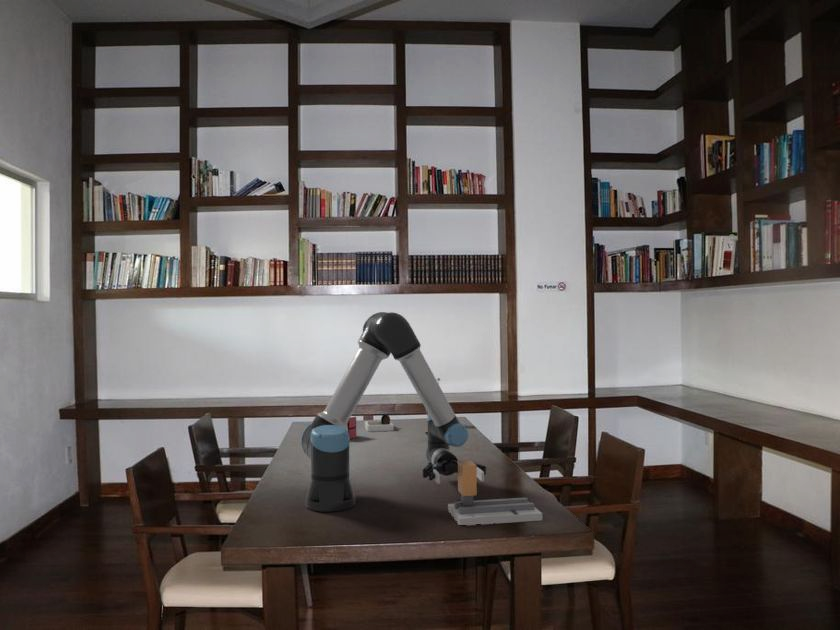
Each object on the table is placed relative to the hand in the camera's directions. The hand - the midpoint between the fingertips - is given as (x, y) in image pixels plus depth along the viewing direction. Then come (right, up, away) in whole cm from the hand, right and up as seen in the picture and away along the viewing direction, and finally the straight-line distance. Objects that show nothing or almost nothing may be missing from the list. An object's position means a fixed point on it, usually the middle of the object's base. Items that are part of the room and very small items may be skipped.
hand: (461, 478), depth 194 cm
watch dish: (-33, -8, +132) cm, 137 cm away
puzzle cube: (-49, -9, +109) cm, 120 cm away
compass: (-31, -9, +132) cm, 136 cm away
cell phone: (-4, -9, +112) cm, 113 cm away
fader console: (+9, -9, -7) cm, 15 cm away
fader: (+1, -7, -9) cm, 11 cm away
